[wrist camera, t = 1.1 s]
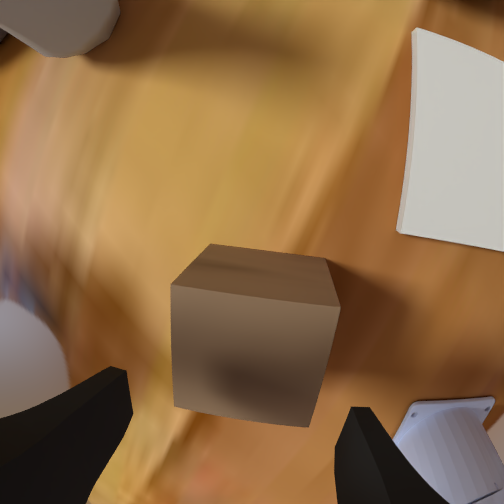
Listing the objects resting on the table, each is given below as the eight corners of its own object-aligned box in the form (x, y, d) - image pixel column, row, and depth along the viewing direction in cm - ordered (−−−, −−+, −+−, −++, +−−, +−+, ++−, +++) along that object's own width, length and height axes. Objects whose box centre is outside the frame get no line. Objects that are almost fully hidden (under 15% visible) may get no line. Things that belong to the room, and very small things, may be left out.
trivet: (535, 256, 14) (542, 259, 14) (395, 230, 15) (400, 233, 15) (550, 93, 11) (557, 92, 11) (411, 32, 12) (416, 27, 12)
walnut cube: (306, 354, 18) (308, 427, 12) (205, 340, 19) (174, 406, 13) (324, 257, 16) (340, 307, 11) (210, 243, 17) (170, 284, 11)
